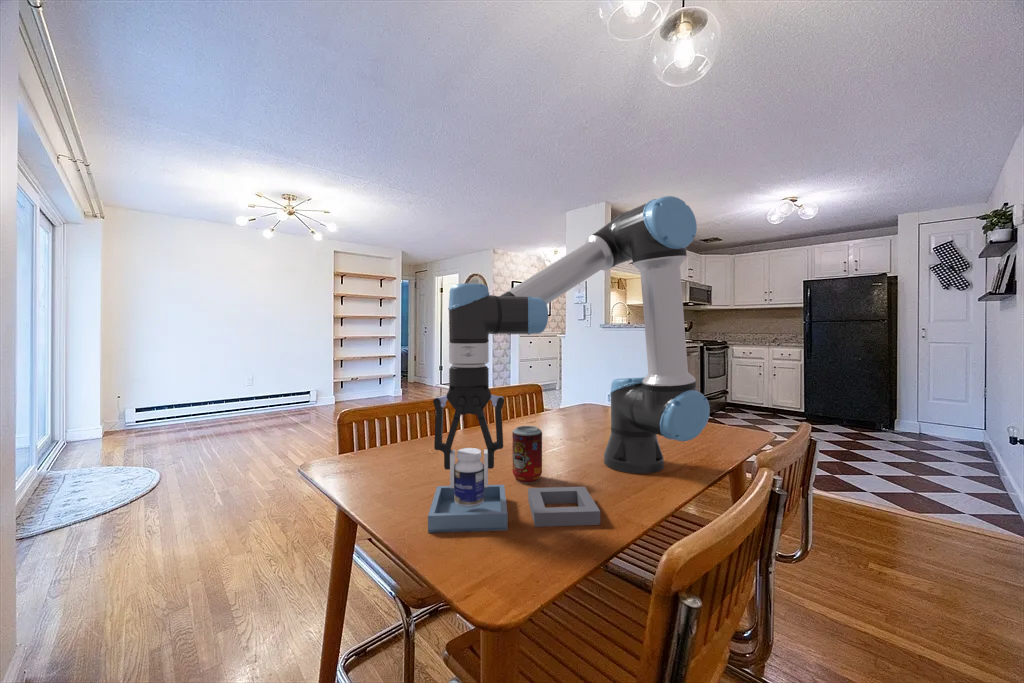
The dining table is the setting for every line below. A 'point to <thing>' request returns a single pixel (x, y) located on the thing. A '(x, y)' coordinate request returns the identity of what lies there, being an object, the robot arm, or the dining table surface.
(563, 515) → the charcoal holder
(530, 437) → the soda can
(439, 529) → the parts tray
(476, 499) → the pill bottle
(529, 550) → the dining table surface
